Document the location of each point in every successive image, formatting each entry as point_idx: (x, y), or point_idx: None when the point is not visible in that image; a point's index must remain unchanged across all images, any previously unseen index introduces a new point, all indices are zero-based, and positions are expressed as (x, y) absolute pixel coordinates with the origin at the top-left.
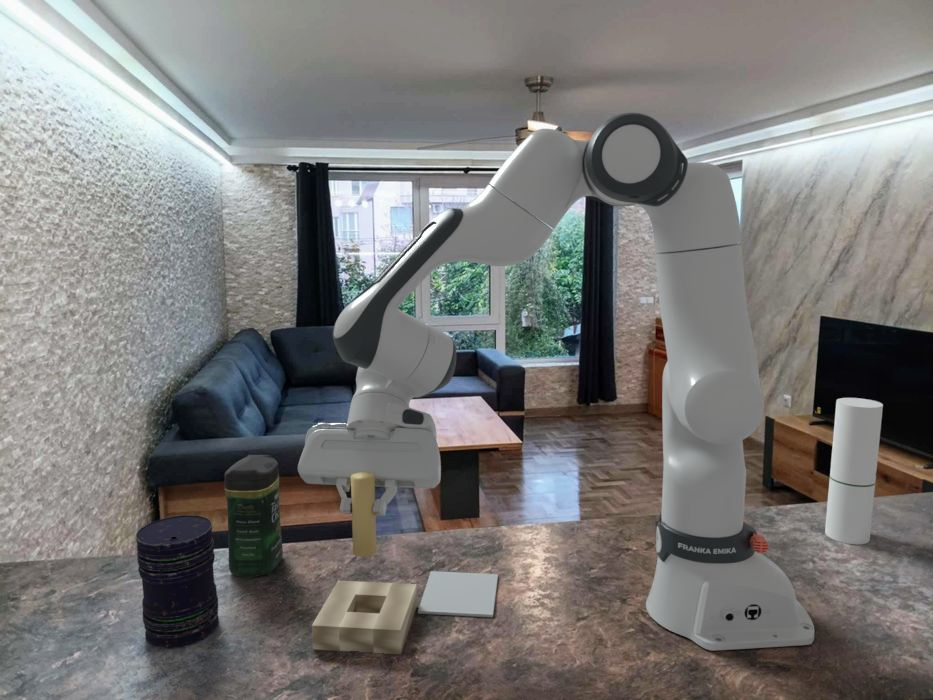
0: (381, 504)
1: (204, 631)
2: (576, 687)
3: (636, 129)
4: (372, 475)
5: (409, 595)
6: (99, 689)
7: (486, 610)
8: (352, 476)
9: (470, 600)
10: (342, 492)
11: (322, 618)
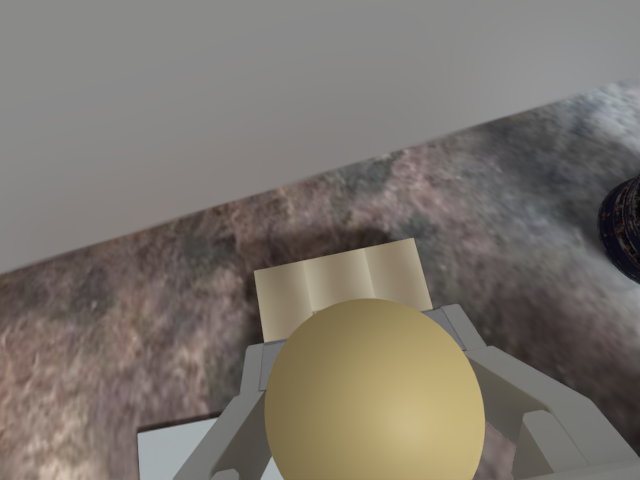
0: (255, 365)
1: (609, 218)
2: (10, 280)
3: None
4: (293, 458)
5: None
6: (635, 82)
7: (151, 446)
8: (459, 374)
9: None
10: (504, 369)
11: (407, 263)
